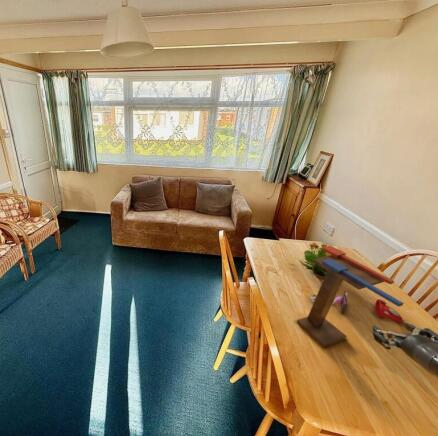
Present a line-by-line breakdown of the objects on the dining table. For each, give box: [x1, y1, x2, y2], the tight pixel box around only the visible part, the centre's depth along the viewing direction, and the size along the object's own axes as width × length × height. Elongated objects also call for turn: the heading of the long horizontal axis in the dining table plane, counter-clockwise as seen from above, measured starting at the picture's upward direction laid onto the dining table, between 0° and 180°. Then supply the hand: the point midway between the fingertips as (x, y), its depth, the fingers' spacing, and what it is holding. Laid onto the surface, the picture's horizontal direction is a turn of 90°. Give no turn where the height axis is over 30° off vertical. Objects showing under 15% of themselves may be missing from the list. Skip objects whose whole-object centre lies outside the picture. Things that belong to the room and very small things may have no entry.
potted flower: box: [298, 242, 342, 280], centre depth 123 cm, size 25×24×18 cm
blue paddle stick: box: [322, 259, 405, 308], centre depth 75 cm, size 22×4×1 cm, turn 17°
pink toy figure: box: [332, 290, 349, 315], centre depth 106 cm, size 7×5×9 cm
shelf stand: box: [296, 255, 385, 348], centre depth 88 cm, size 16×14×32 cm
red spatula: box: [321, 245, 395, 285], centre depth 83 cm, size 22×4×1 cm, turn 17°
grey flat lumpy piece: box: [309, 294, 317, 304], centre depth 109 cm, size 7×8×2 cm
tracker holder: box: [373, 297, 404, 324], centre depth 102 cm, size 12×4×10 cm
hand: (390, 326), depth 77 cm, fingers open, 8 cm apart
